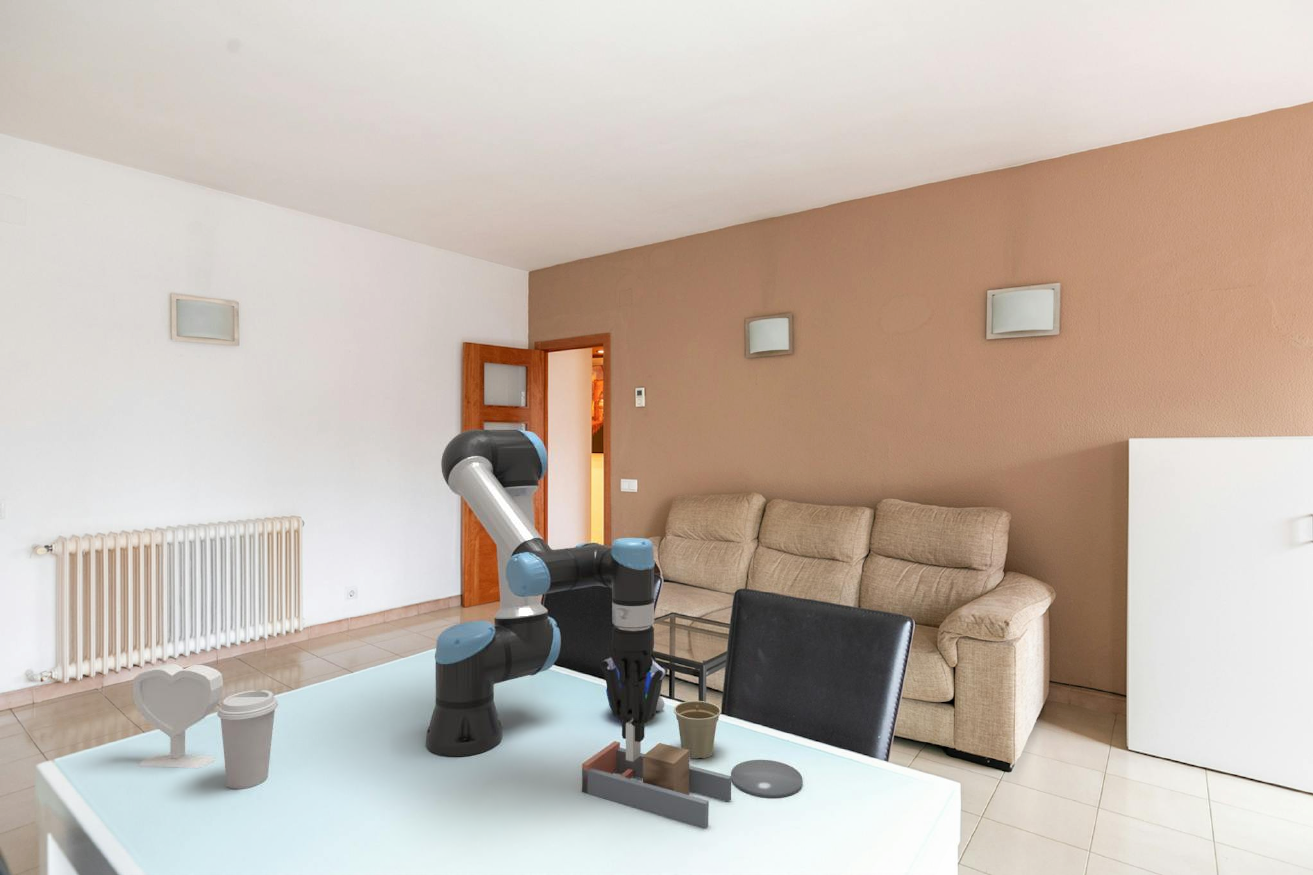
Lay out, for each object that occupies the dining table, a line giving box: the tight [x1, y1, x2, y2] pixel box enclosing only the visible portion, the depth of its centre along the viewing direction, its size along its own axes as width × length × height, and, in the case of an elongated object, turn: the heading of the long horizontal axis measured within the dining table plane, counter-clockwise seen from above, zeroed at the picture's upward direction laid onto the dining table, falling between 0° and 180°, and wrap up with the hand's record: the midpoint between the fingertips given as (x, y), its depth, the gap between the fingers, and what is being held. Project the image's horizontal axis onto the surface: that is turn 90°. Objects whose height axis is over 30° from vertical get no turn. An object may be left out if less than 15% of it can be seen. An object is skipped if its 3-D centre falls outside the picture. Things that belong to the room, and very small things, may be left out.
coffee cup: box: [216, 689, 279, 790], centre depth 129 cm, size 10×10×15 cm
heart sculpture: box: [132, 663, 224, 769], centre depth 136 cm, size 16×5×18 cm, turn 87°
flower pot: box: [673, 700, 722, 760], centre depth 142 cm, size 9×9×9 cm
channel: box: [581, 740, 732, 830], centre depth 125 cm, size 24×11×5 cm, turn 61°
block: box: [642, 742, 690, 795], centre depth 124 cm, size 6×6×8 cm
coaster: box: [730, 759, 803, 799], centre depth 131 cm, size 13×13×1 cm
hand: (633, 757), depth 127 cm, fingers closed
